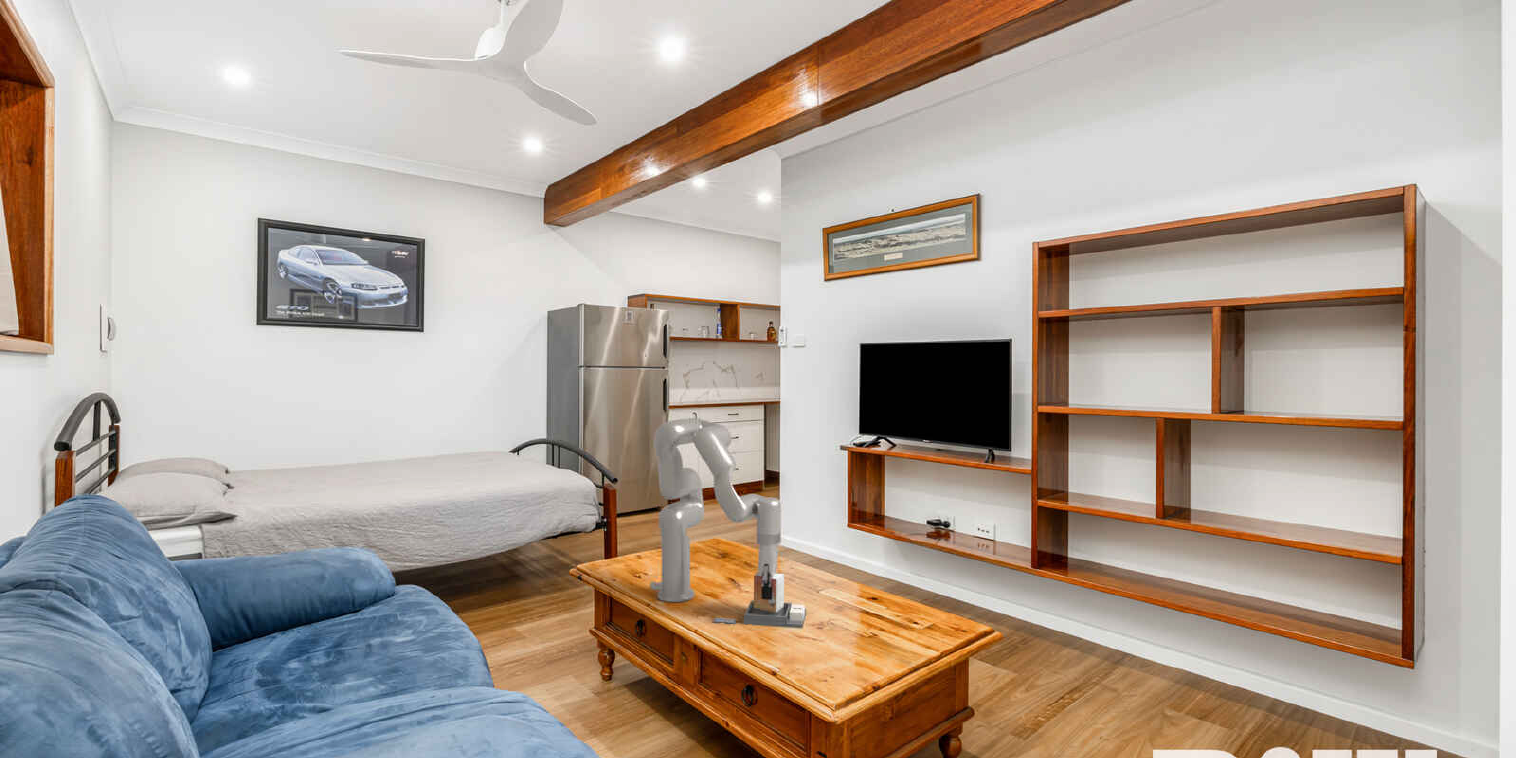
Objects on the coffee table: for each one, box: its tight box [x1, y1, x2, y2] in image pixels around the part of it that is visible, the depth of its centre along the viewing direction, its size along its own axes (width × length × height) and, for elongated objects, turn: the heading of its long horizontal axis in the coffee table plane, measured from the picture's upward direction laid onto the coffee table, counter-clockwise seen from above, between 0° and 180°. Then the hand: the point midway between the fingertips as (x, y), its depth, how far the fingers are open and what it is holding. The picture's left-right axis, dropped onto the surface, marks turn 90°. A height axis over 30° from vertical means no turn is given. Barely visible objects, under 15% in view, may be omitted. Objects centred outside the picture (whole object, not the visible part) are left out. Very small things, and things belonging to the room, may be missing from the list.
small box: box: [753, 572, 785, 613], centre depth 211 cm, size 8×6×10 cm
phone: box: [712, 617, 738, 626], centre depth 207 cm, size 7×3×1 cm, turn 77°
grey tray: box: [742, 600, 807, 629], centre depth 210 cm, size 18×13×4 cm
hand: (768, 594), depth 211 cm, fingers closed on small box, 6 cm apart
